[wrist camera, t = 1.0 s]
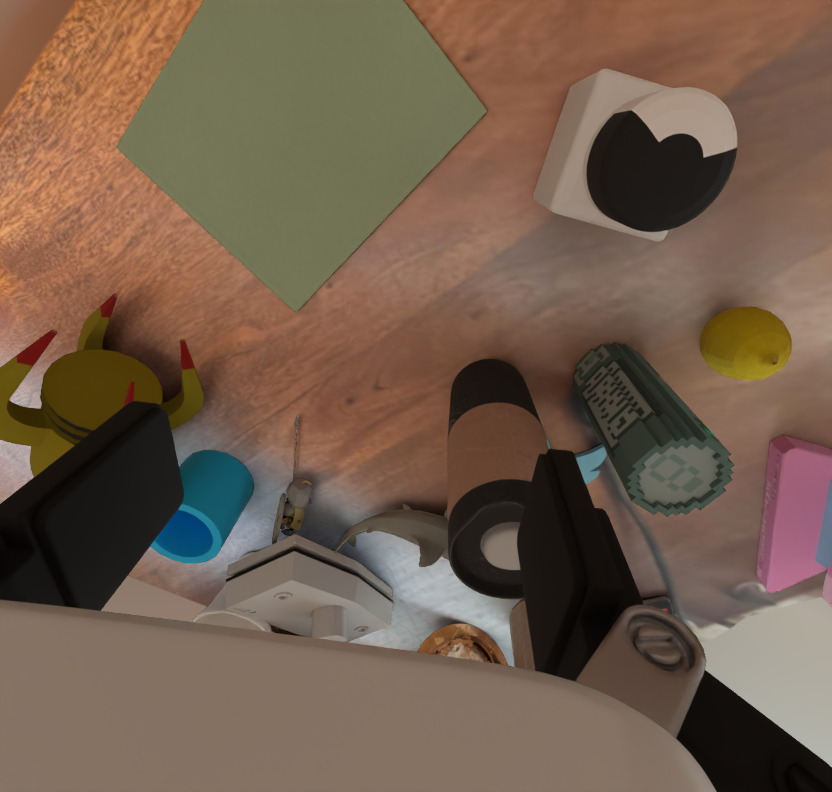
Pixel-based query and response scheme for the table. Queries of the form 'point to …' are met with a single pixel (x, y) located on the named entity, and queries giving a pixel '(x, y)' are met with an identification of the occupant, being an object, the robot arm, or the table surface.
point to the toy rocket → (85, 392)
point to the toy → (292, 503)
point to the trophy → (796, 515)
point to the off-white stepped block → (309, 591)
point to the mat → (298, 128)
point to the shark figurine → (408, 531)
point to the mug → (205, 507)
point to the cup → (229, 614)
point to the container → (637, 154)
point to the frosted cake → (463, 644)
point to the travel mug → (490, 474)
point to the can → (650, 433)
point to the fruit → (746, 343)
